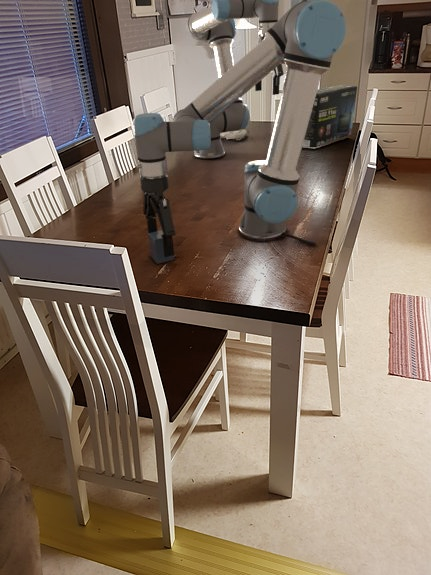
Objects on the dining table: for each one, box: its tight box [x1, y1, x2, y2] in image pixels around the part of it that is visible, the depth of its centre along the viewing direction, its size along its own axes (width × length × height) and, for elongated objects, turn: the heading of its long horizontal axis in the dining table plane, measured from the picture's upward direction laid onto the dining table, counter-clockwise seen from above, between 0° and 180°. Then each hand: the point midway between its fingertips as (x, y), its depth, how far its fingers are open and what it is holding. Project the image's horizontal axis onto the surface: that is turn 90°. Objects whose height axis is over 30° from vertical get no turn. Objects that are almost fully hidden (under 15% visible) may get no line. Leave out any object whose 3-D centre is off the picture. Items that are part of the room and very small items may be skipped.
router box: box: [303, 84, 358, 151], centre depth 238 cm, size 36×11×27 cm, turn 134°
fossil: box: [220, 127, 250, 142], centre depth 261 cm, size 18×11×15 cm
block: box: [147, 229, 175, 265], centre depth 134 cm, size 5×5×8 cm
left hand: (266, 92), depth 193 cm, fingers open, 13 cm apart
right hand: (161, 247), depth 134 cm, fingers open, 12 cm apart
